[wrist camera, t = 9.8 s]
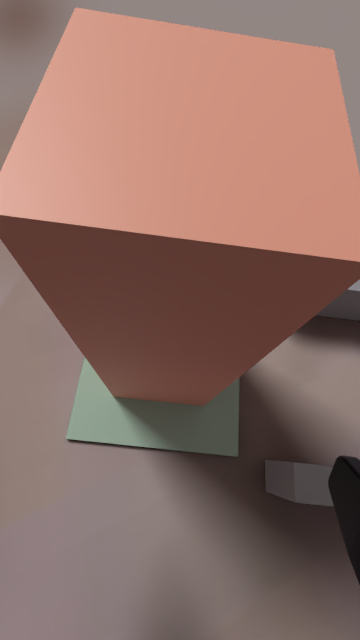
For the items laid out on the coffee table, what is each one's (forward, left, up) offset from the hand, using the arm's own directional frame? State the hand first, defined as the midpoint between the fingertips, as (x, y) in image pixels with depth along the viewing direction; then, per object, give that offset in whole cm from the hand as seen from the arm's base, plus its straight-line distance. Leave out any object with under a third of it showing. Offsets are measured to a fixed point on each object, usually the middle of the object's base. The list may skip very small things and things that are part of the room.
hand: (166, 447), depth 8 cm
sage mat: (+4, -2, -9) cm, 10 cm away
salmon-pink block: (+4, -2, -9) cm, 10 cm away
